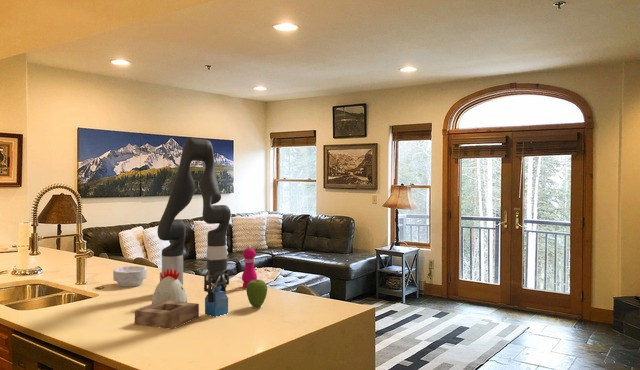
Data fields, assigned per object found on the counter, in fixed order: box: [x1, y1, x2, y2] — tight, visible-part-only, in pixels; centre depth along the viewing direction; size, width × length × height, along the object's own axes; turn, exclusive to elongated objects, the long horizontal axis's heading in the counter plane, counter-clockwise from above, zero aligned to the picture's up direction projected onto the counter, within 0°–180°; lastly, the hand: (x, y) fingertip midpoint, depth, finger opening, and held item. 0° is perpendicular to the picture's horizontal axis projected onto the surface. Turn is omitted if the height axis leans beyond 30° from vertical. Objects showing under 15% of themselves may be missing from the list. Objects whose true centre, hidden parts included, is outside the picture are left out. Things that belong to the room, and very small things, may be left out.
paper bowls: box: [112, 265, 148, 288], centre depth 242 cm, size 15×15×8 cm
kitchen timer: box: [151, 268, 188, 304], centre depth 205 cm, size 14×14×15 cm
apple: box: [245, 279, 268, 309], centre depth 202 cm, size 9×8×12 cm
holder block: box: [134, 300, 200, 330], centre depth 183 cm, size 16×16×5 cm
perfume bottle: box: [204, 283, 229, 318], centre depth 192 cm, size 6×6×12 cm
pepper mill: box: [241, 244, 258, 289], centre depth 238 cm, size 7×7×20 cm
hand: (217, 299), depth 192 cm, fingers open, 8 cm apart
